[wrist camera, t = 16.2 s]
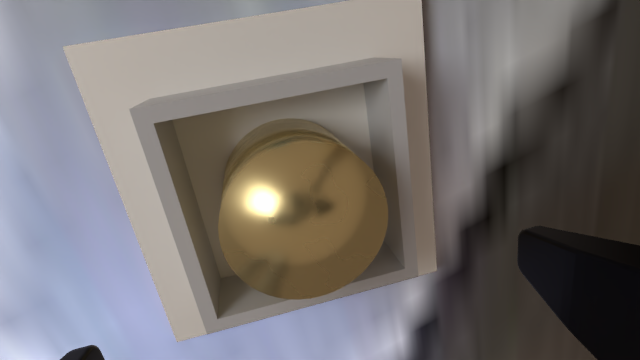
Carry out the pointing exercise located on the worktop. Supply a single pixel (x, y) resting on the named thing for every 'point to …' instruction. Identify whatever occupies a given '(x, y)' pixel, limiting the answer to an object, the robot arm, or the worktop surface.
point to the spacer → (299, 211)
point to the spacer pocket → (245, 115)
